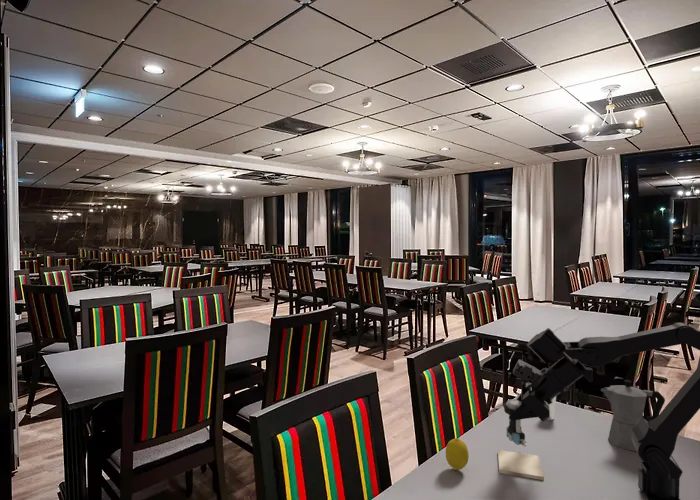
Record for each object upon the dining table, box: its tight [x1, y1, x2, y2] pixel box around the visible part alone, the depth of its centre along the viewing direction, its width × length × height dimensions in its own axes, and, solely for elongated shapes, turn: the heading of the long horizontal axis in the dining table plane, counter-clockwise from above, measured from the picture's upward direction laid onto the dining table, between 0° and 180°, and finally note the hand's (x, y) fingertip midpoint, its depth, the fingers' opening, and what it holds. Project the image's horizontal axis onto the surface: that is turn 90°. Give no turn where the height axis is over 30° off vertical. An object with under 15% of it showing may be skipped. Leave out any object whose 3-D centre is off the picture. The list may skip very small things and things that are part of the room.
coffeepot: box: [600, 379, 666, 452], centre depth 115 cm, size 15×9×18 cm, turn 72°
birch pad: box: [497, 449, 545, 481], centre depth 103 cm, size 10×10×1 cm
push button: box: [502, 398, 528, 447], centre depth 103 cm, size 7×5×10 cm
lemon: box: [445, 437, 469, 471], centre depth 101 cm, size 6×6×8 cm
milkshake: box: [546, 396, 557, 421], centre depth 131 cm, size 4×5×10 cm
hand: (510, 414), depth 104 cm, fingers closed on push button, 5 cm apart
